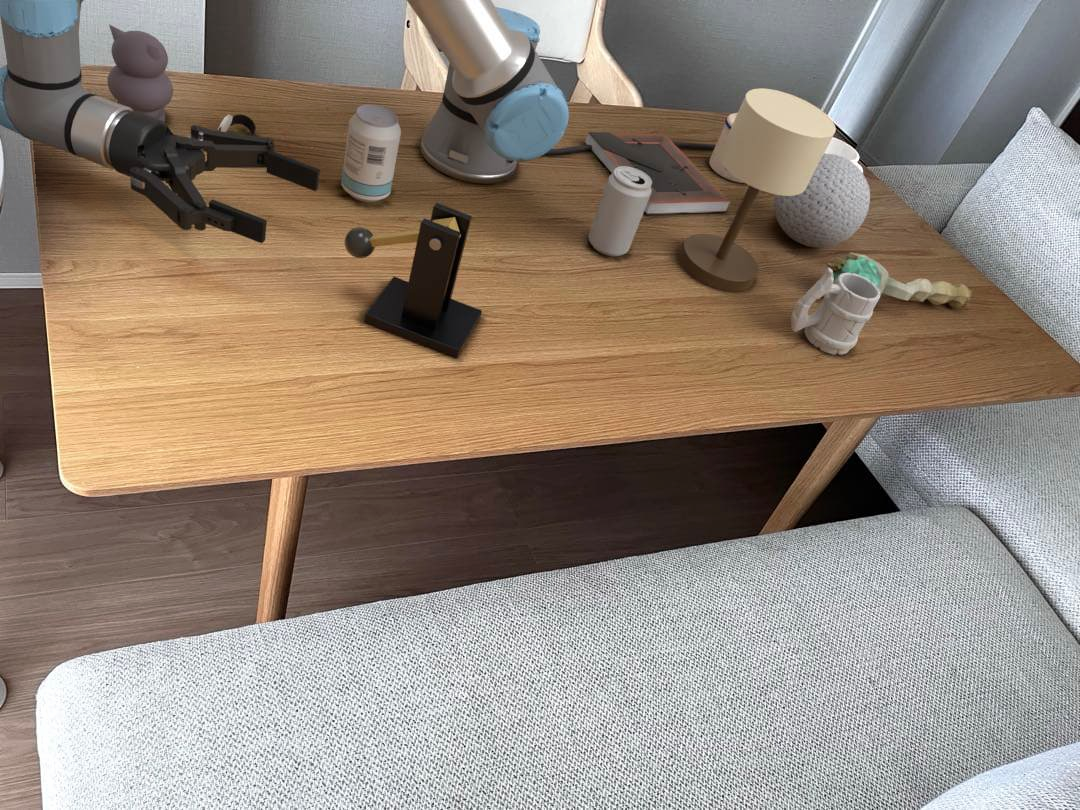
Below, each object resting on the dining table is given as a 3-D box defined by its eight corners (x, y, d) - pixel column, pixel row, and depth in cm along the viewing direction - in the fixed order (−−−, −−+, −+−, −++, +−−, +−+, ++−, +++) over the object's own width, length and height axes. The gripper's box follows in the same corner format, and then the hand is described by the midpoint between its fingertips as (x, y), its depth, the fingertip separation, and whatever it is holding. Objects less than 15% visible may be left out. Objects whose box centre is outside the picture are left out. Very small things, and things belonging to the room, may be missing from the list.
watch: (231, 125, 133) (232, 101, 130) (262, 135, 133) (264, 112, 131) (207, 147, 127) (207, 123, 125) (239, 158, 127) (240, 134, 125)
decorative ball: (859, 259, 155) (905, 182, 145) (802, 271, 147) (847, 190, 137) (799, 209, 163) (839, 133, 153) (742, 218, 154) (780, 138, 145)
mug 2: (860, 358, 133) (903, 293, 125) (790, 353, 129) (830, 285, 121) (837, 324, 138) (877, 259, 130) (770, 318, 134) (807, 251, 126)
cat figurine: (185, 119, 131) (186, 38, 123) (148, 138, 125) (147, 54, 117) (134, 96, 131) (132, 14, 124) (95, 114, 125) (90, 28, 118)
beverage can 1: (396, 190, 132) (410, 114, 124) (378, 212, 127) (391, 134, 119) (352, 173, 132) (363, 96, 124) (332, 194, 127) (342, 115, 119)
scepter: (950, 264, 156) (820, 246, 141) (992, 274, 148) (860, 256, 134) (935, 313, 158) (806, 301, 144) (976, 325, 151) (844, 313, 137)
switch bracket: (363, 322, 109) (382, 217, 99) (392, 284, 116) (411, 182, 106) (457, 358, 109) (484, 257, 99) (480, 318, 116) (508, 220, 106)
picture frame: (584, 144, 159) (645, 215, 146) (588, 131, 157) (651, 202, 145) (660, 145, 167) (724, 213, 154) (665, 133, 165) (730, 200, 153)
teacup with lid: (720, 182, 162) (748, 123, 154) (699, 155, 168) (724, 96, 160) (775, 186, 167) (804, 129, 159) (752, 160, 173) (779, 103, 165)
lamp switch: (346, 265, 108) (334, 237, 106) (358, 250, 111) (347, 223, 109) (454, 252, 103) (444, 223, 101) (464, 237, 106) (455, 209, 104)
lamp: (730, 242, 147) (803, 92, 130) (770, 293, 139) (853, 140, 122) (662, 241, 142) (729, 84, 125) (700, 294, 134) (776, 133, 117)
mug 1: (778, 190, 166) (803, 140, 159) (800, 180, 172) (826, 131, 165) (827, 222, 162) (855, 172, 155) (849, 211, 168) (877, 161, 161)
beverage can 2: (615, 264, 133) (643, 193, 125) (579, 243, 135) (604, 172, 127) (634, 249, 138) (662, 180, 130) (599, 228, 139) (624, 159, 131)
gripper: (182, 129, 119) (333, 187, 119) (58, 215, 100) (237, 284, 100) (183, 74, 114) (340, 135, 114) (52, 154, 95) (240, 227, 95)
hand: (292, 205), depth 107 cm, fingers open, 13 cm apart
